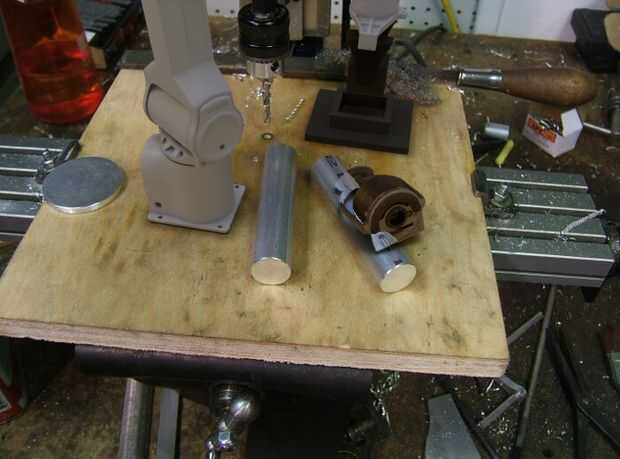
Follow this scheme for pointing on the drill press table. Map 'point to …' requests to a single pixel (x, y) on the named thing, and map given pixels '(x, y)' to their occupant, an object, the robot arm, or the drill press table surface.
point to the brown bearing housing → (385, 204)
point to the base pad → (361, 121)
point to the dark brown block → (378, 83)
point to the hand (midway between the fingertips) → (366, 75)
